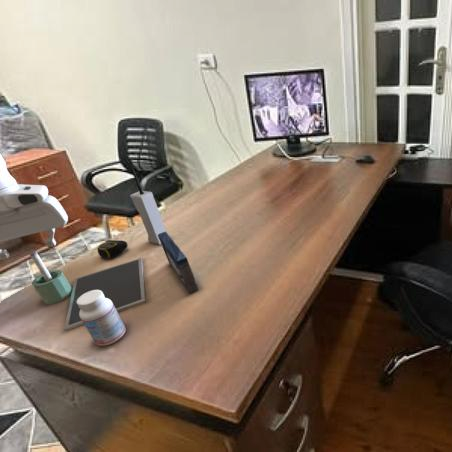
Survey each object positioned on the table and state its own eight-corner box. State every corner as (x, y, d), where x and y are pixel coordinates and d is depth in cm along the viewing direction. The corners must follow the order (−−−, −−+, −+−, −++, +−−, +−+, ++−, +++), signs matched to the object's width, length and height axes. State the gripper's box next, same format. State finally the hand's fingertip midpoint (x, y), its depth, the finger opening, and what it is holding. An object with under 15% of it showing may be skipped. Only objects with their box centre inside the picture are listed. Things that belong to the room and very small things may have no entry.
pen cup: (41, 307, 88) (29, 289, 85) (46, 293, 93) (34, 275, 90) (71, 298, 90) (60, 279, 87) (73, 284, 95) (63, 266, 92)
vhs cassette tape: (168, 263, 100) (157, 234, 95) (179, 259, 102) (168, 230, 97) (187, 295, 87) (174, 262, 82) (199, 290, 88) (187, 257, 83)
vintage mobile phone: (158, 236, 115) (130, 164, 103) (169, 239, 113) (141, 165, 100) (149, 242, 112) (118, 168, 100) (160, 245, 110) (130, 170, 98)
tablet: (65, 331, 79) (63, 328, 79) (75, 281, 97) (74, 278, 96) (146, 302, 86) (144, 299, 85) (142, 260, 103) (141, 257, 103)
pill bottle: (91, 338, 77) (67, 299, 71) (120, 321, 80) (99, 283, 75) (101, 351, 73) (77, 311, 67) (131, 333, 77) (110, 294, 71)
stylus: (54, 296, 91) (28, 255, 84) (55, 293, 92) (29, 252, 85) (61, 294, 91) (35, 253, 85) (61, 291, 92) (36, 250, 86)
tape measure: (130, 248, 110) (126, 238, 108) (114, 261, 104) (109, 251, 102) (113, 247, 111) (108, 237, 109) (95, 260, 106) (90, 249, 104)
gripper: (-70, 218, 71) (-31, 272, 78) (49, 192, 79) (76, 244, 86) (-58, 207, 76) (-21, 259, 83) (53, 184, 84) (78, 233, 91)
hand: (29, 251), depth 84 cm, fingers open, 8 cm apart
